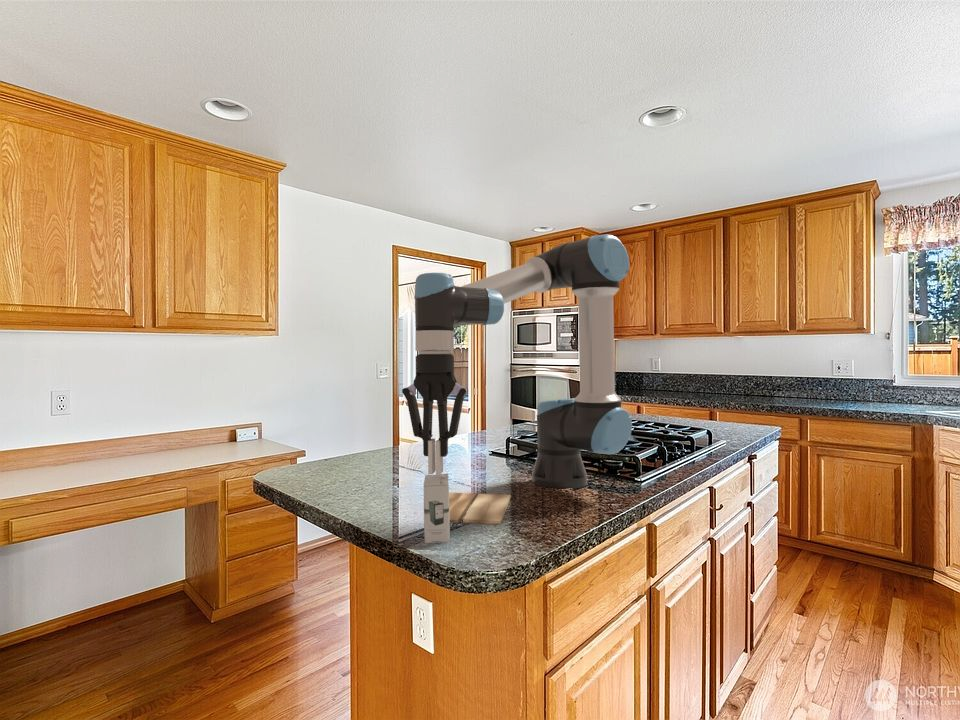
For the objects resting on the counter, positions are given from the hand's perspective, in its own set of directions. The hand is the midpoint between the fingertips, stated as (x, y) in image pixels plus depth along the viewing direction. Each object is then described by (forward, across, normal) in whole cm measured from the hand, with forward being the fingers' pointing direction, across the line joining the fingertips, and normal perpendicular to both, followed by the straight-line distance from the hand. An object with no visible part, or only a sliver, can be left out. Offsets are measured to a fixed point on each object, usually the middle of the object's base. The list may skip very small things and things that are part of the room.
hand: (435, 472), depth 99 cm
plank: (+13, -8, -17) cm, 22 cm away
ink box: (+13, 0, 0) cm, 13 cm away
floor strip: (+13, 0, -17) cm, 21 cm away
